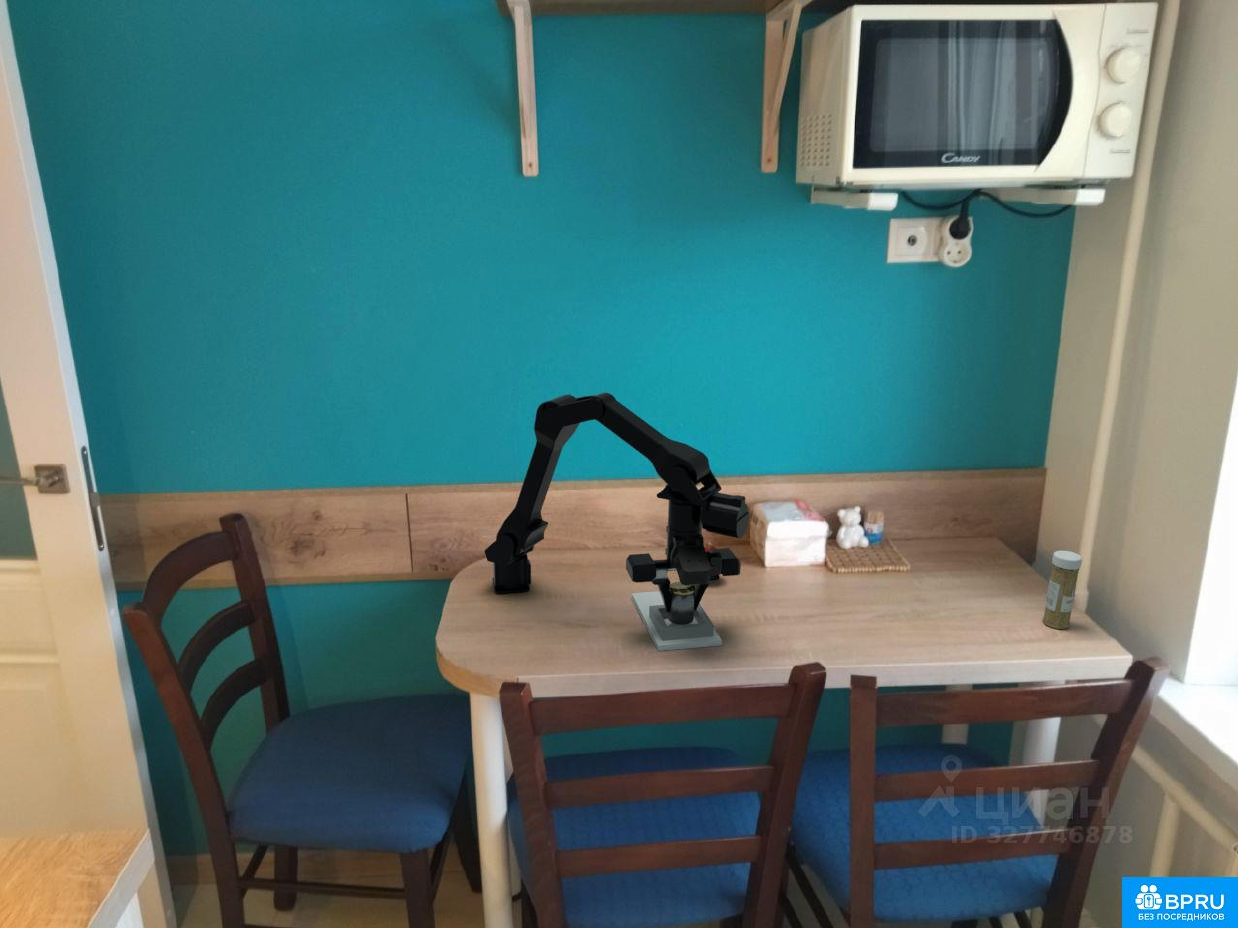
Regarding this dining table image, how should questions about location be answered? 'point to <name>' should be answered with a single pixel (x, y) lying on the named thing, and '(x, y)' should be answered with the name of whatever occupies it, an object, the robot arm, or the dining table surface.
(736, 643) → the dining table surface
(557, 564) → the dining table surface
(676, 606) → the lidded tin can
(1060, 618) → the sprinkles bottle
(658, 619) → the dock
